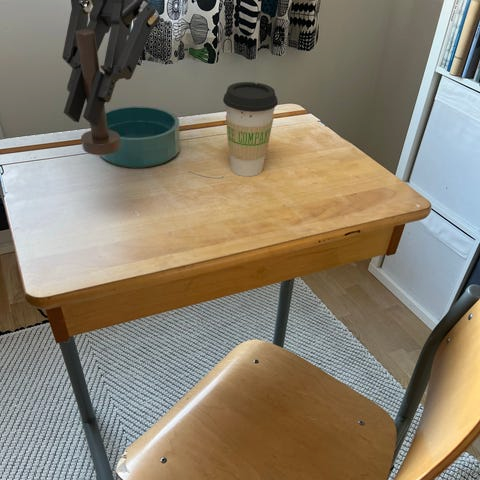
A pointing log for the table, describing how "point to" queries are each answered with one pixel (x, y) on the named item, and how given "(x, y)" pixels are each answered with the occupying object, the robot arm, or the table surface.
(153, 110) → the bowl
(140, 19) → the robot arm
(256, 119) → the coffee cup
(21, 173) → the table surface
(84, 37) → the brown pestle
